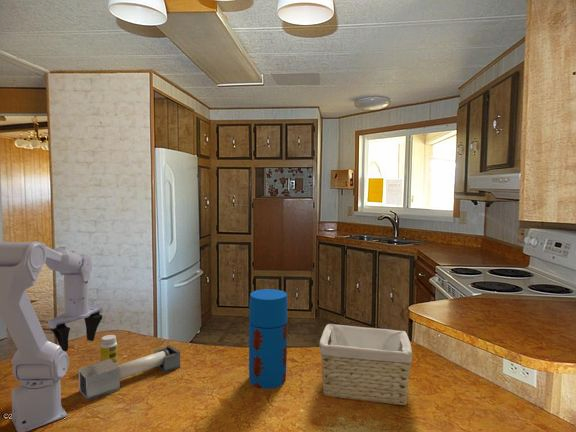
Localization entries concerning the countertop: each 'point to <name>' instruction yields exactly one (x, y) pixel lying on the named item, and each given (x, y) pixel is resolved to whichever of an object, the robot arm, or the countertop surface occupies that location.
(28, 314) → the robot arm
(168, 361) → the socket
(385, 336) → the storage basket
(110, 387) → the sleeve
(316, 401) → the countertop surface
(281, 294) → the thermos
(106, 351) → the supplement bottle
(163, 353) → the tube
